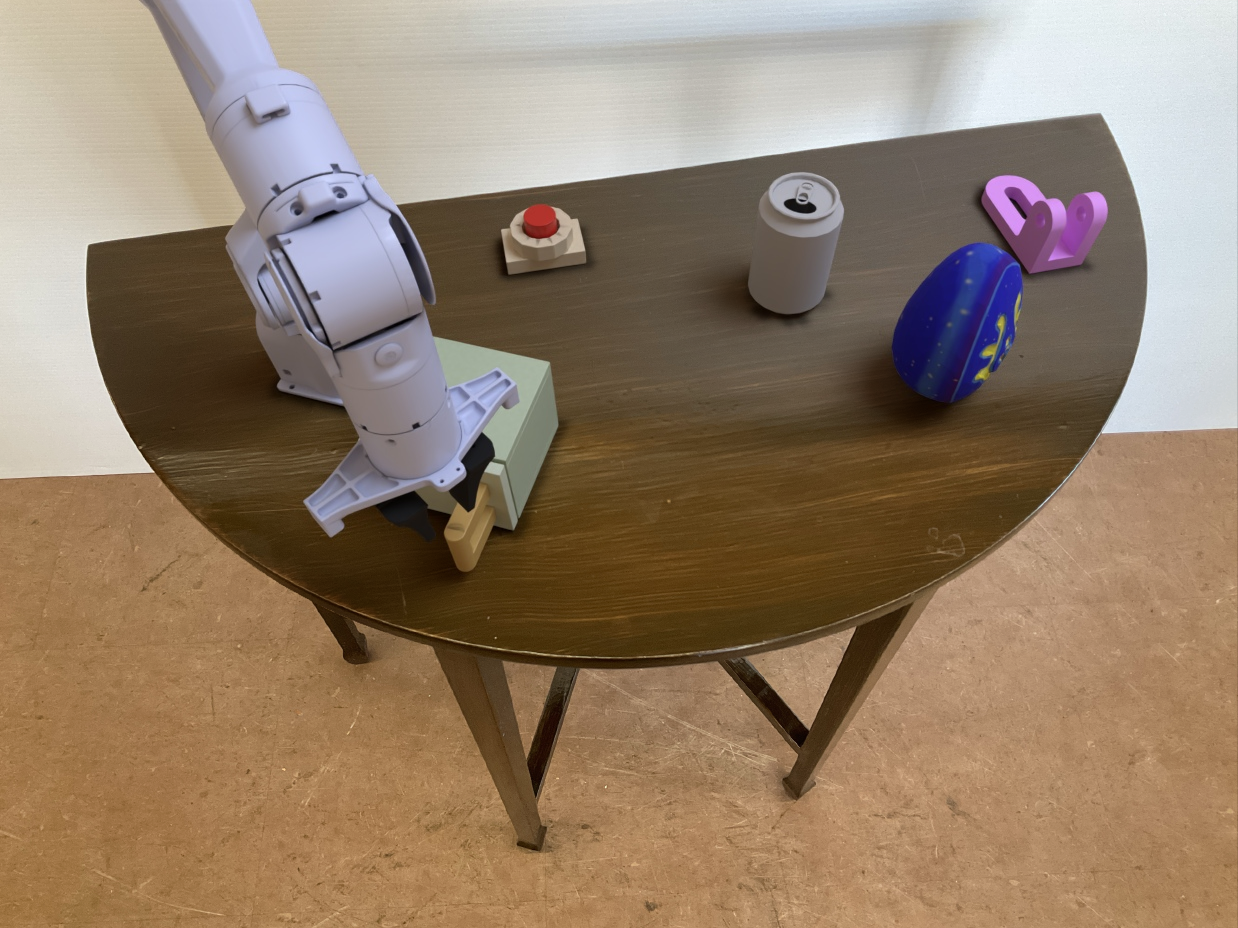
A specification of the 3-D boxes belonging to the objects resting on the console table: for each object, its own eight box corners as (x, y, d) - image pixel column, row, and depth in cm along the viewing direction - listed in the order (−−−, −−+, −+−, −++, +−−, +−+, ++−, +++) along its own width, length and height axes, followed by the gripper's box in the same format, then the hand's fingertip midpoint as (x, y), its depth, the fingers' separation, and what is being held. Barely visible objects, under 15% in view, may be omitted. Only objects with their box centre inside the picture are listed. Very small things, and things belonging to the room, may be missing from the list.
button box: (509, 278, 86) (504, 252, 83) (502, 238, 90) (497, 211, 87) (587, 267, 87) (585, 240, 84) (577, 227, 90) (575, 200, 87)
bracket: (1081, 264, 85) (1113, 208, 80) (1029, 273, 85) (1057, 218, 79) (1020, 182, 93) (1046, 126, 87) (972, 190, 92) (994, 134, 86)
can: (737, 308, 83) (750, 209, 73) (759, 258, 87) (774, 157, 77) (812, 328, 82) (836, 230, 72) (832, 276, 85) (857, 176, 75)
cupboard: (519, 519, 71) (505, 460, 63) (391, 486, 73) (364, 426, 66) (558, 425, 76) (550, 361, 69) (438, 397, 78) (418, 332, 71)
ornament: (952, 441, 74) (1015, 321, 61) (858, 390, 77) (900, 266, 65) (1007, 364, 79) (1076, 237, 66) (917, 319, 82) (966, 190, 69)
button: (527, 241, 85) (525, 228, 83) (523, 220, 86) (521, 206, 85) (559, 237, 85) (557, 223, 83) (554, 216, 87) (553, 202, 85)
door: (489, 587, 67) (472, 536, 60) (356, 551, 69) (324, 497, 62) (518, 520, 70) (504, 464, 63) (390, 487, 72) (363, 430, 66)
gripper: (325, 516, 44) (390, 622, 55) (540, 364, 49) (559, 489, 60) (255, 435, 47) (330, 552, 58) (465, 300, 52) (497, 431, 63)
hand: (443, 516), depth 59 cm, fingers open, 3 cm apart
